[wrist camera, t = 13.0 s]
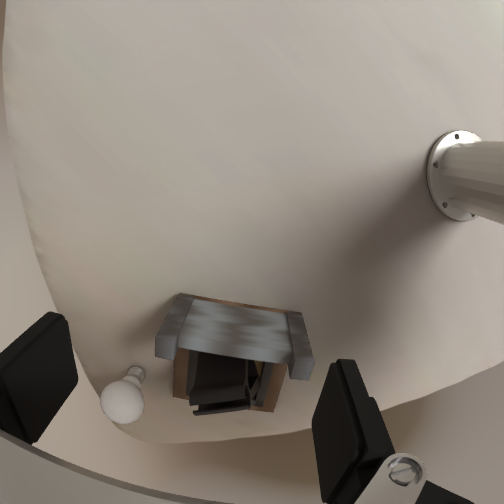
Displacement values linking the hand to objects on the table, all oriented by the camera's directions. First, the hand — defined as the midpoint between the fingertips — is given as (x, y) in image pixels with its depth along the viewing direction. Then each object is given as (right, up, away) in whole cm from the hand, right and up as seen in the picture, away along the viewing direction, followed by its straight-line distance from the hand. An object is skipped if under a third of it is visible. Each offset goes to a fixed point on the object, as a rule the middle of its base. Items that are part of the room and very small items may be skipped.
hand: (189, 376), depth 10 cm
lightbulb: (-16, -14, +36) cm, 42 cm away
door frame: (-1, -11, +34) cm, 36 cm away
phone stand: (-1, -11, +32) cm, 34 cm away
